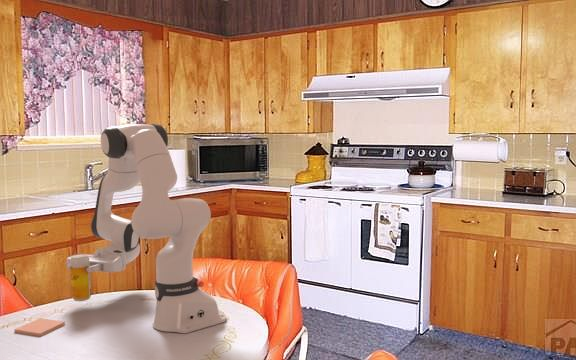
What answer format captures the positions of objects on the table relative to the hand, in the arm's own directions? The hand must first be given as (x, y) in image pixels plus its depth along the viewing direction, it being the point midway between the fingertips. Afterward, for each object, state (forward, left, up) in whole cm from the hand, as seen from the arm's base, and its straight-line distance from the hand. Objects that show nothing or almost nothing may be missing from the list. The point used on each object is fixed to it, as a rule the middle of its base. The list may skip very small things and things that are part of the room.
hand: (78, 269), depth 183 cm
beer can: (-1, -1, -11) cm, 11 cm away
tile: (+10, +8, -14) cm, 19 cm away
